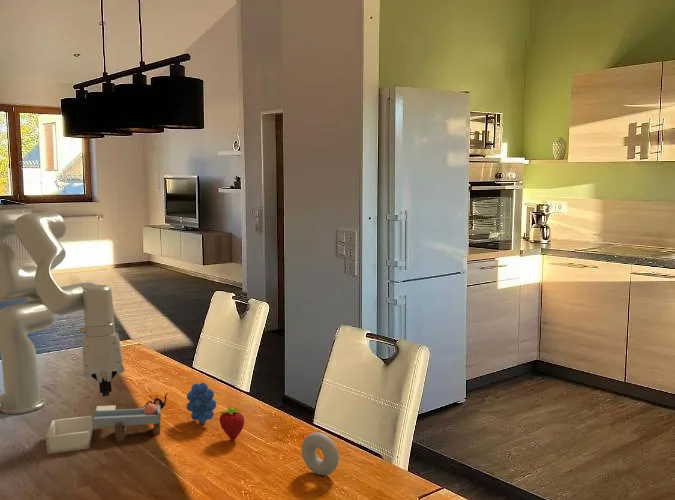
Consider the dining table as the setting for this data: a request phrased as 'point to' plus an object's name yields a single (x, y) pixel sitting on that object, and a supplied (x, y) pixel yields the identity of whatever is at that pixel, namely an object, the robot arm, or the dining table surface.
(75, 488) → the dining table surface
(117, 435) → the pivot stand
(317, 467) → the donut
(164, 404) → the creature
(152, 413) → the ball
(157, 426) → the post
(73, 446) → the tray
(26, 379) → the robot arm
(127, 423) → the lever
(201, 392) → the grapes
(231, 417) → the strawberry
